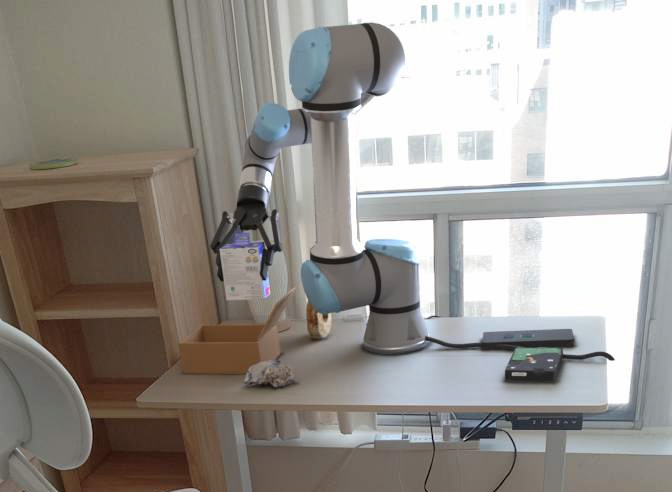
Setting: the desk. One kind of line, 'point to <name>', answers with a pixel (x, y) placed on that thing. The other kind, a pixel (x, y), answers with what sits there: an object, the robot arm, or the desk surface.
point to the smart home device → (529, 338)
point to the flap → (276, 313)
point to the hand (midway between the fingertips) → (241, 277)
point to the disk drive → (534, 364)
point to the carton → (227, 348)
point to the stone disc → (317, 323)
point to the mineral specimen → (269, 374)
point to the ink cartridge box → (243, 270)
